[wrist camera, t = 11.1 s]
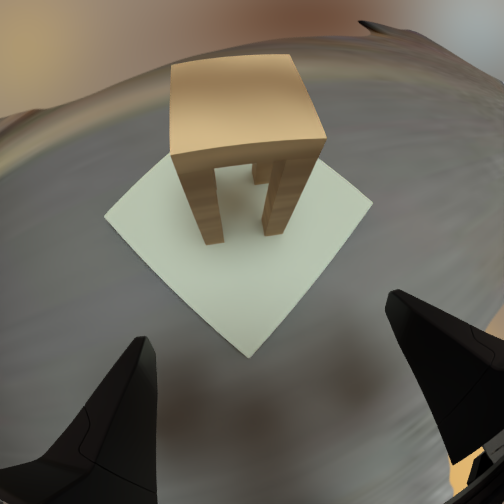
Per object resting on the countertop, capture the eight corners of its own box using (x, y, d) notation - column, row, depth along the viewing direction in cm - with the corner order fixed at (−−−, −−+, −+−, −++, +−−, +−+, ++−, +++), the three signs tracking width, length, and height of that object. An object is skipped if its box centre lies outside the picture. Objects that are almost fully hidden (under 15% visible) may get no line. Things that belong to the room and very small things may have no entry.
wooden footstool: (282, 233, 18) (326, 138, 8) (205, 245, 17) (170, 155, 8) (268, 168, 19) (289, 54, 9) (198, 178, 19) (171, 65, 9)
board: (367, 208, 20) (373, 202, 19) (248, 356, 17) (249, 358, 16) (234, 109, 22) (234, 102, 21) (109, 220, 19) (103, 216, 18)
